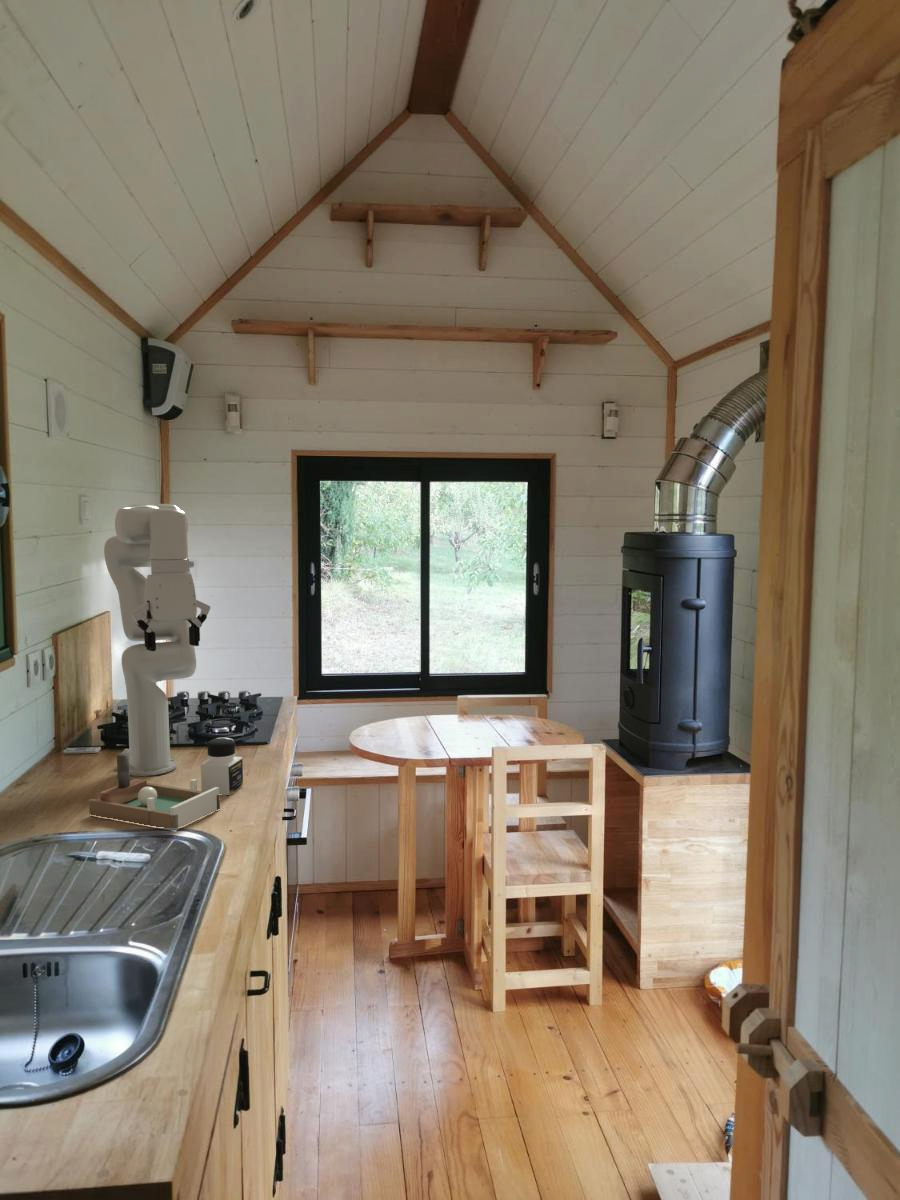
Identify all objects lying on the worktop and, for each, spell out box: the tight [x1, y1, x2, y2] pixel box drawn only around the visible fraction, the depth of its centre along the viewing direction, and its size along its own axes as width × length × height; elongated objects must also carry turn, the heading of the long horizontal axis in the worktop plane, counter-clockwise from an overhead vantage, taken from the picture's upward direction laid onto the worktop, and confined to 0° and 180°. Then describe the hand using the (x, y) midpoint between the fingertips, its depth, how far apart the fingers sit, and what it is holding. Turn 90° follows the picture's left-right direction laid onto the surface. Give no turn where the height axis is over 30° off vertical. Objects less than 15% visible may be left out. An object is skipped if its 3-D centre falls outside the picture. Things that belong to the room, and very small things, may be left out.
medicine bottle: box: [200, 737, 244, 796], centre depth 200 cm, size 7×7×12 cm
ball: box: [138, 787, 157, 806], centre depth 186 cm, size 4×4×4 cm
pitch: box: [88, 778, 221, 828], centre depth 186 cm, size 23×14×6 cm, turn 66°
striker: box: [100, 752, 148, 804], centre depth 189 cm, size 3×10×10 cm, turn 156°
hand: (173, 647), depth 186 cm, fingers open, 9 cm apart
